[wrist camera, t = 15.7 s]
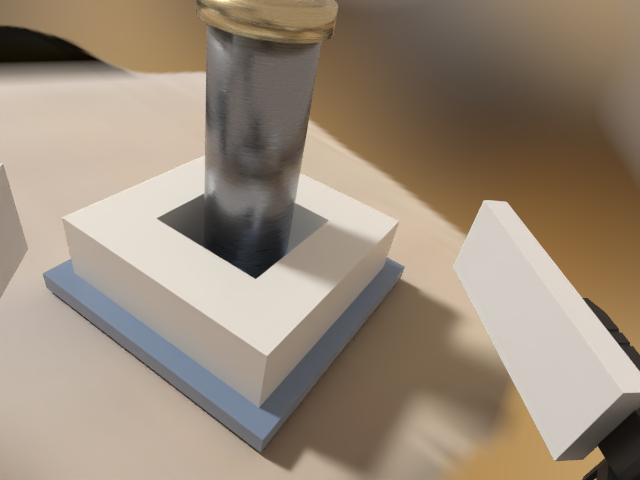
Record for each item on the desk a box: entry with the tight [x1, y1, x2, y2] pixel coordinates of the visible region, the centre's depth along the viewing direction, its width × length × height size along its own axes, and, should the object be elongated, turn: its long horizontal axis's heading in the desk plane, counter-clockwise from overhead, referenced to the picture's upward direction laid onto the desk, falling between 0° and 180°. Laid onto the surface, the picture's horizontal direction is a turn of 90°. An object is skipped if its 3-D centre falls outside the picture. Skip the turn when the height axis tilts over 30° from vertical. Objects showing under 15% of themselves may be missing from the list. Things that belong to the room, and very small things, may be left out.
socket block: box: [43, 155, 404, 453], centre depth 25 cm, size 14×14×4 cm
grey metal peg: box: [196, 0, 338, 279], centre depth 21 cm, size 5×5×14 cm
